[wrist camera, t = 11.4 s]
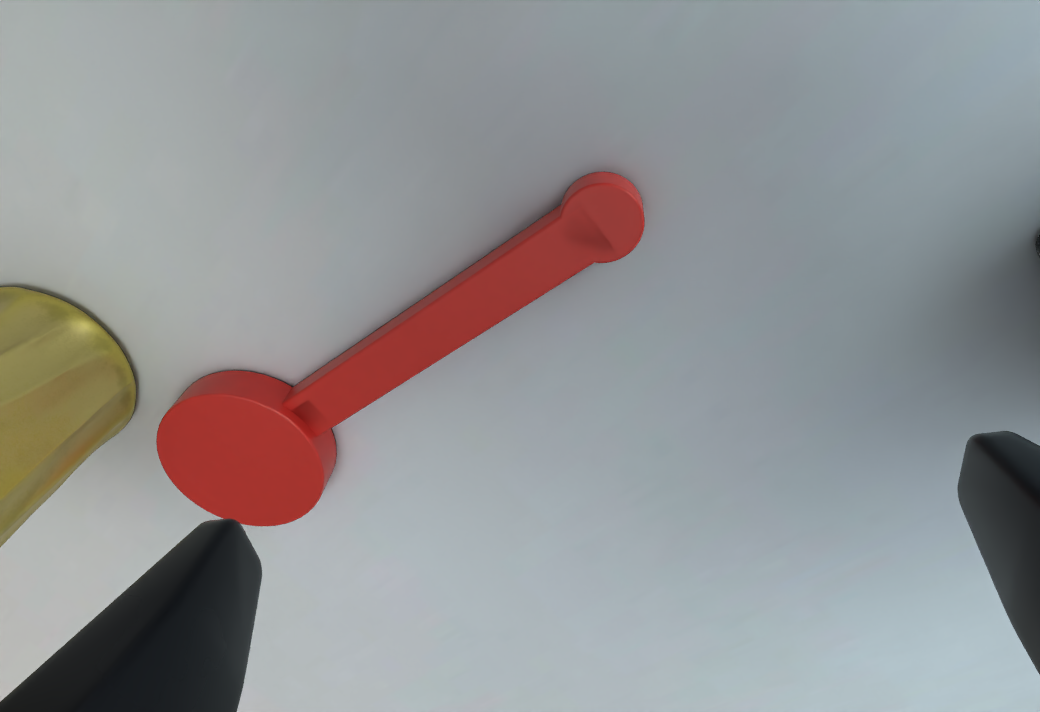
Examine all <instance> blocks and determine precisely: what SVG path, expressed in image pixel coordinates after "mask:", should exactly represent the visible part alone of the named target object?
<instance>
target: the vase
mask: <svg viewBox="0 0 1040 712" xmlns="http://www.w3.org/2000/svg"><path fill="white" fill-rule="evenodd" d="M135 402H136V384H135V379H134V376H133V373H132V370H131V367H130V365H129V363H128V361H127V359H126V357H125V355H124V353H123V352H122V350H121V349H120V347H119V346H118V344H117V343H116V342H115V341H114V339H113V338H112V337H111V336H110V335H109V334H108V333H107V332H106V331H105V330H104V329H103V328H102V327H101V326H100V325H99V324H98V323H97V322H95V321H94V320H93V319H92V318H91V317H89V316H88V315H87V314H85V313H84V312H82V311H81V310H80V309H78V308H76V307H74V306H73V305H71V304H69V303H67V302H65V301H63V300H61V299H58V298H55V297H53V296H50V295H47V294H43V293H40V292H36V291H32V290H28V289H24V288H19V287H0V547H1V546H2V545H3V544H4V543H5V542H6V541H7V540H8V539H9V538H10V537H11V536H12V535H13V533H14V532H15V531H16V530H17V529H18V528H19V527H20V526H21V525H22V524H23V523H24V522H25V521H26V520H27V519H28V518H29V517H30V516H31V515H32V514H33V513H34V512H35V511H36V510H37V509H38V508H39V507H40V506H41V505H42V504H43V503H44V502H45V501H46V500H47V499H48V498H49V497H50V496H51V495H52V494H53V493H54V492H55V491H56V490H57V489H58V488H59V487H60V486H61V485H62V484H63V483H64V482H65V481H66V479H67V478H68V477H69V476H70V475H71V474H72V473H73V472H74V471H75V470H76V469H77V468H78V467H79V466H80V465H81V464H82V463H83V462H84V461H85V460H86V459H87V458H88V457H89V456H90V455H91V454H92V453H93V452H94V451H95V450H97V449H98V448H99V447H100V446H101V445H103V444H104V443H105V442H107V441H108V440H110V439H111V438H112V437H114V436H115V435H116V434H118V433H119V432H120V431H121V430H122V429H123V428H124V427H125V426H126V424H127V423H128V422H129V421H130V419H131V417H132V414H133V412H134V407H135Z"/></svg>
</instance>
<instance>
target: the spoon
mask: <svg viewBox="0 0 1040 712" xmlns="http://www.w3.org/2000/svg"><path fill="white" fill-rule="evenodd" d="M643 231H644V212H643V203H642V199H641V197H640V194H639V192H638V191H637V189H636V188H635V186H634V185H633V184H632V183H631V182H630V181H628V180H627V179H626V178H624V177H622V176H620V175H617V174H615V173H610V172H596V173H591V174H588V175H585V176H583V177H581V178H580V179H578V180H577V181H575V182H574V183H573V184H572V185H571V186H570V187H569V189H568V190H567V191H566V193H565V195H564V197H563V200H562V204H561V205H560V206H558V207H557V208H555V209H554V210H552V211H551V212H550V213H548V214H547V215H545V216H544V217H542V218H541V219H539V220H538V221H536V222H535V223H533V224H532V225H530V226H529V227H527V228H526V229H525V230H523V231H522V232H520V233H519V234H517V235H516V236H514V237H513V238H511V239H510V240H508V241H507V242H505V243H504V244H503V245H501V246H500V247H498V248H497V249H495V250H494V251H492V252H491V253H489V254H488V255H486V256H485V257H483V258H482V259H480V260H479V261H478V262H476V263H475V264H473V265H472V266H470V267H469V268H467V269H466V270H464V271H463V272H461V273H460V274H458V275H457V276H456V277H454V278H453V279H451V280H450V281H448V282H447V283H445V284H444V285H442V286H441V287H439V288H438V289H436V290H435V291H433V292H432V293H431V294H429V295H428V296H426V297H425V298H423V299H422V300H420V301H419V302H417V303H416V304H414V305H413V306H411V307H410V308H409V309H407V310H406V311H404V312H403V313H401V314H400V315H398V316H397V317H395V318H394V319H392V320H391V321H389V322H388V323H386V324H385V325H384V326H382V327H381V328H379V329H378V330H376V331H375V332H373V333H372V334H370V335H369V336H367V337H366V338H364V339H363V340H362V341H360V342H359V343H357V344H356V345H354V346H353V347H351V348H350V349H348V350H347V351H345V352H344V353H342V354H341V355H339V356H338V357H337V358H335V359H334V360H332V361H331V362H329V363H328V364H326V365H325V366H323V367H322V368H320V369H319V370H317V371H316V372H314V373H313V374H312V375H310V376H309V377H307V378H306V379H304V380H303V381H301V382H300V383H298V384H297V385H295V386H294V387H291V386H289V385H288V384H286V383H284V382H282V381H279V380H277V379H275V378H272V377H269V376H266V375H263V374H259V373H254V372H248V371H223V372H218V373H214V374H210V375H208V376H205V377H203V378H201V379H199V380H197V381H196V382H194V383H193V384H192V385H191V386H189V387H188V388H187V389H186V391H185V392H184V393H183V394H182V395H181V396H180V398H179V399H178V400H177V401H176V402H175V403H174V405H173V406H172V407H171V408H170V409H169V410H168V412H167V413H166V414H165V416H164V417H163V419H162V421H161V423H160V425H159V428H158V432H157V451H158V455H159V459H160V461H161V464H162V466H163V468H164V470H165V472H166V474H167V475H168V477H169V478H170V479H171V481H172V482H173V484H174V485H175V486H176V487H177V488H178V489H179V490H180V491H181V492H182V493H183V494H184V495H185V496H186V497H187V498H189V499H190V500H191V501H193V502H194V503H195V504H197V505H198V506H200V507H201V508H203V509H205V510H206V511H208V512H210V513H212V514H214V515H216V516H219V517H221V518H224V519H229V518H231V519H235V520H237V521H238V522H239V523H240V524H245V525H252V526H276V525H281V524H286V523H289V522H292V521H294V520H296V519H298V518H300V517H302V516H303V515H305V514H306V513H308V512H309V511H310V510H311V509H312V508H313V507H314V506H315V505H316V503H317V502H318V501H319V499H320V497H321V494H322V492H323V490H324V488H325V486H326V484H327V482H328V480H329V478H330V476H331V474H332V472H333V469H334V466H335V463H336V454H337V453H336V443H335V439H334V435H333V433H332V430H331V428H332V427H334V426H335V425H337V424H339V423H340V422H342V421H343V420H345V419H347V418H348V417H350V416H351V415H353V414H355V413H356V412H358V411H359V410H361V409H362V408H364V407H366V406H367V405H369V404H370V403H372V402H374V401H375V400H377V399H378V398H380V397H382V396H383V395H385V394H386V393H388V392H389V391H391V390H393V389H394V388H396V387H397V386H399V385H401V384H402V383H404V382H405V381H407V380H409V379H410V378H412V377H413V376H415V375H416V374H418V373H420V372H421V371H423V370H424V369H426V368H428V367H429V366H431V365H432V364H434V363H436V362H437V361H439V360H440V359H442V358H443V357H445V356H447V355H448V354H450V353H451V352H453V351H455V350H456V349H458V348H459V347H461V346H463V345H464V344H466V343H467V342H469V341H470V340H472V339H474V338H475V337H477V336H478V335H480V334H482V333H483V332H485V331H486V330H488V329H490V328H491V327H493V326H494V325H496V324H497V323H499V322H501V321H502V320H504V319H505V318H507V317H509V316H510V315H512V314H513V313H515V312H517V311H518V310H520V309H521V308H523V307H524V306H526V305H528V304H529V303H531V302H532V301H534V300H536V299H537V298H539V297H540V296H542V295H544V294H545V293H547V292H548V291H550V290H551V289H553V288H555V287H556V286H558V285H559V284H561V283H563V282H564V281H566V280H567V279H569V278H570V277H572V276H574V275H575V274H577V273H578V272H580V271H582V270H583V269H585V268H586V267H588V266H590V265H591V264H593V263H594V262H595V263H607V262H612V261H616V260H618V259H620V258H622V257H624V256H626V255H627V254H629V253H630V252H631V251H632V250H633V249H634V248H635V247H636V245H637V244H638V242H639V241H640V239H641V237H642V234H643Z"/></svg>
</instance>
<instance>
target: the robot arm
mask: <svg viewBox="0 0 1040 712" xmlns="http://www.w3.org/2000/svg"><path fill="white" fill-rule="evenodd" d="M1036 250H1037V253H1038V255H1039V257H1040V235H1039V237H1038V239H1037V242H1036ZM958 498H959V502H960V505H961V508H962V510H963V512H964V515H965V517H966V519H967V522H968V524H969V526H970V529H971V531H972V533H973V536H974V538H975V540H976V543H977V545H978V548H979V550H980V552H981V555H982V557H983V559H984V562H985V564H986V566H987V569H988V571H989V573H990V576H991V578H992V580H993V583H994V585H995V587H996V590H997V592H998V594H999V597H1000V599H1001V602H1002V604H1003V606H1004V608H1005V610H1006V613H1007V615H1008V617H1009V619H1010V621H1011V623H1012V625H1013V627H1014V629H1015V631H1016V633H1017V635H1018V637H1019V639H1020V640H1021V642H1022V644H1023V646H1024V648H1025V649H1026V651H1027V653H1028V655H1029V657H1030V658H1031V660H1032V662H1033V664H1034V665H1035V667H1036V669H1037V671H1038V672H1039V674H1040V446H1039V445H1037V444H1035V443H1033V442H1031V441H1029V440H1027V439H1025V438H1023V437H1021V436H1020V435H1018V434H1015V433H1013V432H1009V431H1000V432H991V433H982V434H976V435H973V436H972V437H970V439H969V440H968V442H967V445H966V449H965V453H964V458H963V463H962V467H961V472H960V477H959V481H958ZM261 579H262V567H261V562H260V559H259V557H258V555H257V553H256V551H255V550H254V548H253V546H252V544H251V542H250V540H249V539H248V537H247V535H246V533H245V531H244V529H243V527H242V526H241V524H240V523H239V522H238V521H237V520H235V519H231V518H229V519H220V520H211V521H206V522H203V523H201V524H200V525H199V526H198V527H196V528H195V529H194V530H193V531H192V532H191V533H190V534H189V535H187V536H186V537H185V538H184V539H183V540H182V541H181V542H180V543H178V544H177V545H176V546H175V547H174V548H173V549H172V550H171V551H169V552H168V553H167V554H166V555H165V556H164V557H163V558H162V559H160V560H159V561H158V562H157V563H156V564H155V565H154V566H153V567H151V568H150V569H149V570H148V571H147V572H146V573H145V574H144V575H142V576H141V577H140V578H139V579H138V580H137V581H136V582H135V583H133V584H132V585H131V586H130V587H129V588H128V589H127V590H126V591H124V592H123V593H122V594H121V595H120V596H119V597H118V598H117V599H115V600H114V601H113V602H112V603H111V604H110V605H109V606H108V607H106V608H105V609H104V610H103V611H102V612H101V613H100V614H99V615H97V616H96V617H95V618H94V619H93V620H92V621H91V622H90V623H88V624H87V625H86V626H85V627H84V628H83V629H82V630H81V631H80V632H78V633H77V634H76V635H75V636H74V637H73V638H72V639H71V640H69V641H68V642H67V643H66V644H65V645H64V646H63V647H62V648H60V649H59V650H58V651H57V652H56V653H55V654H54V655H53V656H51V657H50V658H49V659H48V660H47V661H46V662H45V663H44V664H42V665H41V666H40V667H39V668H38V669H37V670H36V671H35V672H33V673H32V674H31V675H30V676H29V677H28V678H27V679H26V680H24V681H23V682H22V683H21V684H20V685H19V686H18V687H17V688H15V689H14V690H13V691H12V692H11V693H10V694H9V695H8V696H6V697H5V698H4V699H3V700H2V701H1V702H0V712H237V708H238V704H239V700H240V696H241V693H242V688H243V683H244V678H245V673H246V668H247V662H248V656H249V650H250V644H251V638H252V633H253V627H254V621H255V615H256V609H257V603H258V597H259V591H260V585H261Z"/></svg>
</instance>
